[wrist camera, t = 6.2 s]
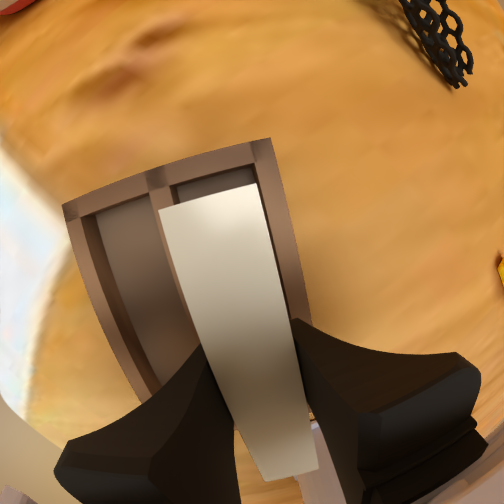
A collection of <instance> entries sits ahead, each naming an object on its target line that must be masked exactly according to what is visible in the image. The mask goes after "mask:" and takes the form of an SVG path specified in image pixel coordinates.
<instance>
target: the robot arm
mask: <svg viewBox="0 0 504 504" xmlns="http://www.w3.org/2000/svg"><path fill="white" fill-rule="evenodd" d="M289 323H290V327H291V332H292V337H293V341H294V346H295V350H296V355H297V360H298V364H299V369H300V374H301V379H302V383H303V388H304V393H305V398H306V401H307V403H308V405H309V407H310V409H311V411H312V413H313V415H314V417H315V419H316V420H315V421H311V422H310V423H311V428H312V433H313V438H314V444H315V449H316V454H317V459H318V465H319V469H317V470H314V471H310V472H307V473H303V474H299V475H295V476H294V478H295V480H296V481H298V483H299V487H300V491H301V494H302V498H303V502H304V504H504V422H503V423H502V424H501V425H500V426H499V427H498V428H496V429H495V430H494V431H493V432H492V433H491V434H490V435H488V437H486V438H485V439H484V438H483V437H482V436H481V435H480V434H479V433H478V432H477V431H476V430H475V429H474V428H476V426H477V421H476V420H475V419H474V418H473V417H472V416H471V413H472V410H473V408H474V405H475V402H476V400H477V397H478V394H479V390H480V386H481V373H480V371H479V370H478V368H476V367H475V366H474V365H473V364H471V363H470V362H469V361H467V360H466V359H465V358H464V357H462V356H461V355H460V354H458V353H457V352H450V353H440V354H427V355H414V354H396V353H388V352H382V351H376V350H371V349H367V348H363V347H359V346H356V345H352V344H349V343H347V342H344V341H342V340H339V339H337V338H334V337H332V336H330V335H328V334H326V333H324V332H322V331H320V330H318V329H316V328H314V327H313V326H311V325H309V324H308V323H306V322H304V321H303V320H301V319H299V318H294V319H291V320H289ZM54 475H55V477H56V479H57V480H58V482H59V483H60V485H61V486H62V487H63V488H64V489H65V490H66V491H67V492H69V493H70V494H71V495H72V496H73V497H75V498H76V499H77V500H79V501H80V502H81V503H82V504H241V498H240V493H239V486H238V480H237V473H236V465H235V457H234V420H233V417H232V415H231V413H230V411H229V409H228V406H227V404H226V402H225V400H224V397H223V395H222V393H221V390H220V388H219V386H218V383H217V381H216V379H215V376H214V374H213V372H212V369H211V367H210V364H209V362H208V359H207V357H206V354H205V352H204V349H203V346H202V344H201V343H200V344H199V345H198V346H197V347H196V349H195V350H194V351H193V353H192V354H191V355H190V356H189V358H188V359H187V360H186V361H185V362H184V364H183V365H182V366H181V367H180V369H179V370H178V371H177V372H176V373H175V374H174V375H173V376H172V377H171V378H170V379H169V381H168V382H167V383H166V384H165V385H164V386H163V387H162V388H161V389H160V390H158V391H157V392H156V393H155V394H154V395H153V396H152V397H150V398H149V399H148V400H147V401H145V402H144V403H143V404H141V405H140V406H139V407H137V408H136V409H134V410H133V411H131V412H130V413H128V414H127V415H125V416H124V417H122V418H120V419H119V420H117V421H115V422H113V423H111V424H109V425H107V426H105V427H103V428H101V429H99V430H97V431H94V432H92V433H89V434H86V435H84V436H81V437H78V438H75V439H72V440H69V441H68V442H67V444H66V446H65V448H64V450H63V452H62V454H61V456H60V458H59V460H58V462H57V464H56V466H55V468H54ZM0 504H37V503H36V502H35V501H33V500H32V499H31V498H30V497H28V496H27V495H25V494H24V493H22V492H20V491H18V490H16V489H14V488H12V487H10V486H8V485H5V487H4V489H3V491H2V493H1V495H0Z"/></svg>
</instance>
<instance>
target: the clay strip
mask: <svg viewBox="0 0 504 504" xmlns="http://www.w3.org/2000/svg"><path fill="white" fill-rule="evenodd" d="M158 212H159V215H160V219H161V223H162V226H163V230H164V233H165V237H166V240H167V244H168V247H169V250H170V254H171V257H172V260H173V263H174V266H175V270H176V273H177V276H178V279H179V282H180V285H181V288H182V291H183V294H184V297H185V300H186V303H187V306H188V309H189V311H190V314H191V317H192V320H193V322H194V325H195V328H196V331H197V333H198V336H199V339H200V341H201V344H202V346H203V349H204V352H205V354H206V357H207V359H208V362H209V364H210V367H211V369H212V372H213V374H214V376H215V379H216V381H217V383H218V386H219V388H220V390H221V393H222V395H223V397H224V400H225V402H226V404H227V406H228V409H229V411H230V413H231V415H232V417H233V420H234V422H235V424H236V426H237V428H238V430H239V432H240V434H241V436H242V438H243V440H244V442H245V444H246V446H247V448H248V450H249V452H250V454H251V456H252V458H253V460H254V462H255V464H256V466H257V468H258V470H259V472H260V473H261V475H262V477H263V479H264V481H265V482H268V481H273V480H278V479H283V478H287V477H291V476H295V475H299V474H303V473H307V472H310V471H314V470H317V469H319V465H318V459H317V454H316V449H315V444H314V438H313V433H312V428H311V423H310V418H309V413H308V408H307V403H306V398H305V393H304V388H303V383H302V379H301V374H300V369H299V364H298V360H297V355H296V350H295V346H294V341H293V337H292V332H291V327H290V323H289V318H288V314H287V310H286V305H285V301H284V296H283V292H282V288H281V283H280V279H279V275H278V270H277V266H276V262H275V258H274V253H273V249H272V245H271V241H270V237H269V232H268V228H267V224H266V220H265V216H264V212H263V208H262V204H261V200H260V196H259V192H258V188H257V184H256V183H255V184H251V185H247V186H243V187H239V188H235V189H231V190H227V191H223V192H220V193H216V194H212V195H208V196H205V197H201V198H198V199H194V200H191V201H187V202H184V203H180V204H177V205H174V206H170V207H167V208H164V209H160V210H158Z"/></svg>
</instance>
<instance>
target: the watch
mask: <svg viewBox="0 0 504 504" xmlns="http://www.w3.org/2000/svg"><path fill="white" fill-rule="evenodd" d="M497 270H498V272H499V275H500V277H501V280H502V283H503V287H504V257H503V259H502V260H501V262H500V264H499V266H498V268H497Z"/></svg>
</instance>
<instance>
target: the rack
mask: <svg viewBox="0 0 504 504" xmlns="http://www.w3.org/2000/svg"><path fill="white" fill-rule="evenodd" d="M255 183H256V184H257V188H258V192H259V196H260V200H261V204H262V208H263V212H264V216H265V220H266V224H267V228H268V232H269V237H270V241H271V245H272V249H273V253H274V258H275V262H276V266H277V270H278V275H279V279H280V283H281V288H282V292H283V296H284V301H285V305H286V310H287V314H288V318H289V320H291V319H294V318H299V319H301V320H303V321H304V322H306V323H308V324H309V325H311V326H313V325H312V320H311V314H310V309H309V304H308V298H307V293H306V288H305V283H304V278H303V273H302V268H301V264H300V259H299V254H298V249H297V245H296V240H295V236H294V231H293V227H292V222H291V218H290V214H289V209H288V205H287V201H286V197H285V193H284V188H283V184H282V180H281V176H280V172H279V168H278V164H277V161H276V157H275V153H274V149H273V145H272V142H271V138H265V139H260V140H256V141H251V142H246V143H242V144H238V145H234V146H230V147H225V148H222V149H218V150H214V151H210V152H206V153H203V154H199V155H195V156H192V157H189V158H185V159H182V160H178V161H175V162H172V163H169V164H166V165H162V166H159V167H156V168H153V169H150V170H147V171H144V172H142V173H139V174H136V175H133V176H130V177H128V178H125V179H122V180H120V181H117V182H114V183H112V184H109V185H107V186H104V187H102V188H99V189H97V190H94V191H92V192H89V193H87V194H85V195H82V196H80V197H78V198H76V199H73V200H71V201H69V202H67V203H64V204H62V209H63V213H64V217H65V221H66V225H67V229H68V233H69V237H70V240H71V244H72V247H73V251H74V254H75V257H76V260H77V264H78V267H79V270H80V273H81V276H82V278H83V281H84V284H85V287H86V290H87V292H88V295H89V298H90V300H91V303H92V305H93V308H94V310H95V313H96V315H97V317H98V320H99V322H100V324H101V327H102V329H103V331H104V333H105V336H106V338H107V340H108V342H109V344H110V346H111V348H112V350H113V352H114V354H115V356H116V358H117V360H118V362H119V364H120V366H121V368H122V370H123V372H124V374H125V375H126V377H127V379H128V381H129V383H130V384H131V386H132V388H133V390H134V391H135V393H136V395H137V396H138V398H139V400H140V401H141V403H142V404H143V403H144V402H145V401H147V400H148V399H149V398H150V397H152V396H153V395H154V394H155V393H156V392H157V391H158V390H160V389H161V388H162V387H163V386H164V385H165V384H166V383H167V382H168V381H169V379H170V378H171V377H172V376H173V375H174V374H175V373H176V372H177V371H178V370H179V369H180V367H181V366H182V365H183V364H184V362H185V361H186V360H187V359H188V358H189V356H190V355H191V354H192V353H193V351H194V350H195V349H196V347H197V346H198V345H199V344H200V343H201V341H200V339H199V336H198V333H197V331H196V328H195V325H194V322H193V320H192V317H191V314H190V311H189V309H188V306H187V303H186V300H185V297H184V294H183V291H182V288H181V285H180V282H179V279H178V276H177V273H176V270H175V266H174V263H173V260H172V257H171V254H170V250H169V247H168V244H167V240H166V237H165V233H164V230H163V226H162V223H161V219H160V215H159V212H158V210H160V209H164V208H167V207H170V206H174V205H177V204H180V203H184V202H187V201H191V200H194V199H198V198H201V197H205V196H208V195H212V194H216V193H220V192H223V191H227V190H231V189H235V188H239V187H243V186H247V185H251V184H255ZM306 403H307V401H306ZM307 408H308V413H310V412H312V411H311V409H310V407H309V405H308V403H307ZM234 430H238V428H237V426H236V424H235V422H234Z"/></svg>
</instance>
